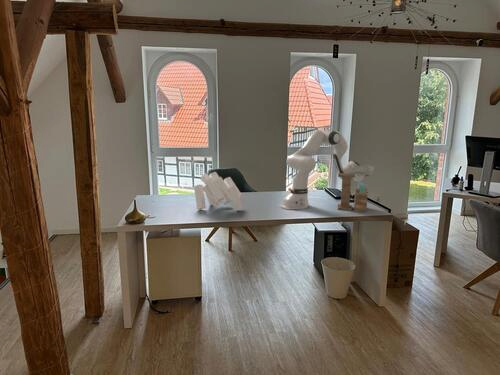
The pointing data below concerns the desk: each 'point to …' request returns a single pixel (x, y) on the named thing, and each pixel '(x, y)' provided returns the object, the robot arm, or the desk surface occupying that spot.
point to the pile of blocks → (217, 191)
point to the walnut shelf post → (345, 191)
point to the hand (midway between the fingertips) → (361, 165)
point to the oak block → (360, 200)
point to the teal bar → (361, 187)
